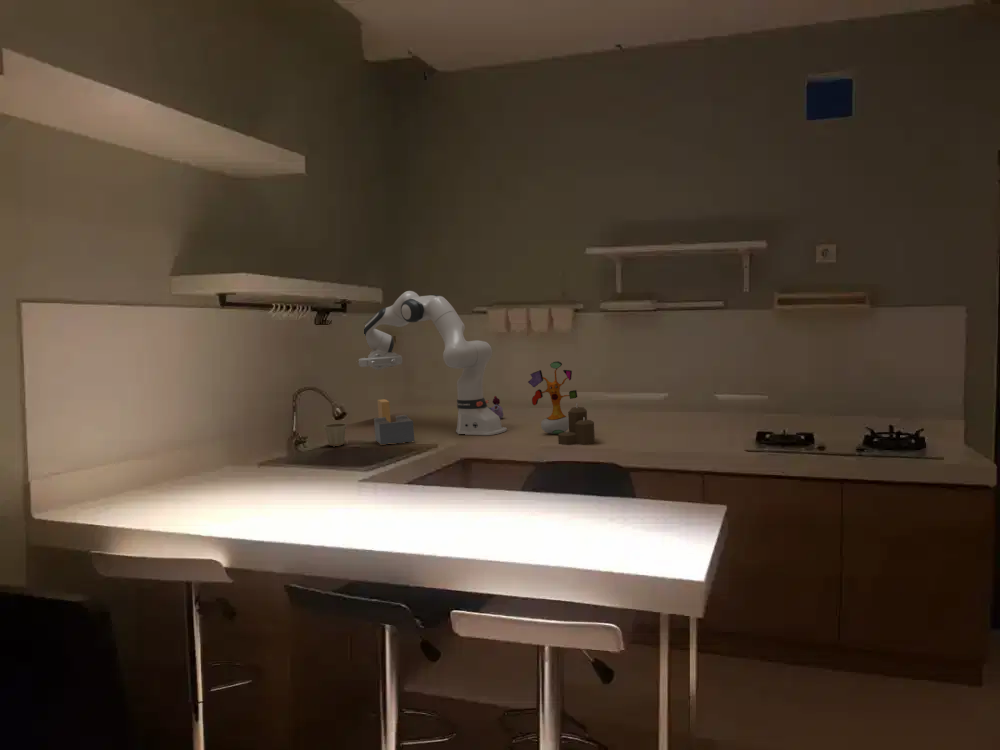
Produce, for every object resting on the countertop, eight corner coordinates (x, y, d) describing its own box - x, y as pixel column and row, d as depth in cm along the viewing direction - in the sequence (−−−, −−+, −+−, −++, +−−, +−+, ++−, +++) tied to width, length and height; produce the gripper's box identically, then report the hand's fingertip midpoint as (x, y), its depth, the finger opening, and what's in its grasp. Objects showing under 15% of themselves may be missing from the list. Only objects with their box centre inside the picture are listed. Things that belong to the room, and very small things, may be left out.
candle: (562, 438, 338) (561, 401, 337) (596, 438, 335) (595, 400, 334) (557, 445, 325) (556, 406, 323) (593, 444, 322) (591, 406, 320)
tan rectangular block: (379, 430, 380) (377, 399, 378) (387, 429, 381) (385, 399, 379) (383, 433, 370) (381, 402, 369) (391, 433, 371) (389, 401, 370)
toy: (495, 433, 390) (509, 404, 388) (467, 419, 389) (480, 390, 388) (496, 429, 400) (509, 401, 399) (468, 416, 400) (481, 387, 398)
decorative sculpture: (529, 435, 347) (525, 363, 344) (532, 432, 355) (529, 361, 352) (577, 435, 342) (573, 362, 339) (579, 431, 350) (576, 360, 347)
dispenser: (375, 441, 353) (374, 418, 352) (408, 437, 358) (406, 414, 357) (380, 446, 342) (379, 422, 341) (414, 442, 346) (412, 418, 345)
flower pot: (335, 442, 355) (334, 422, 354) (352, 444, 350) (351, 423, 349) (320, 447, 347) (318, 426, 346) (337, 448, 342) (336, 427, 341)
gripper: (355, 355, 394) (359, 357, 381) (398, 351, 400) (404, 353, 387) (356, 368, 394) (360, 371, 381) (399, 365, 401) (405, 367, 388)
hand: (383, 362), depth 384 cm, fingers open, 8 cm apart
